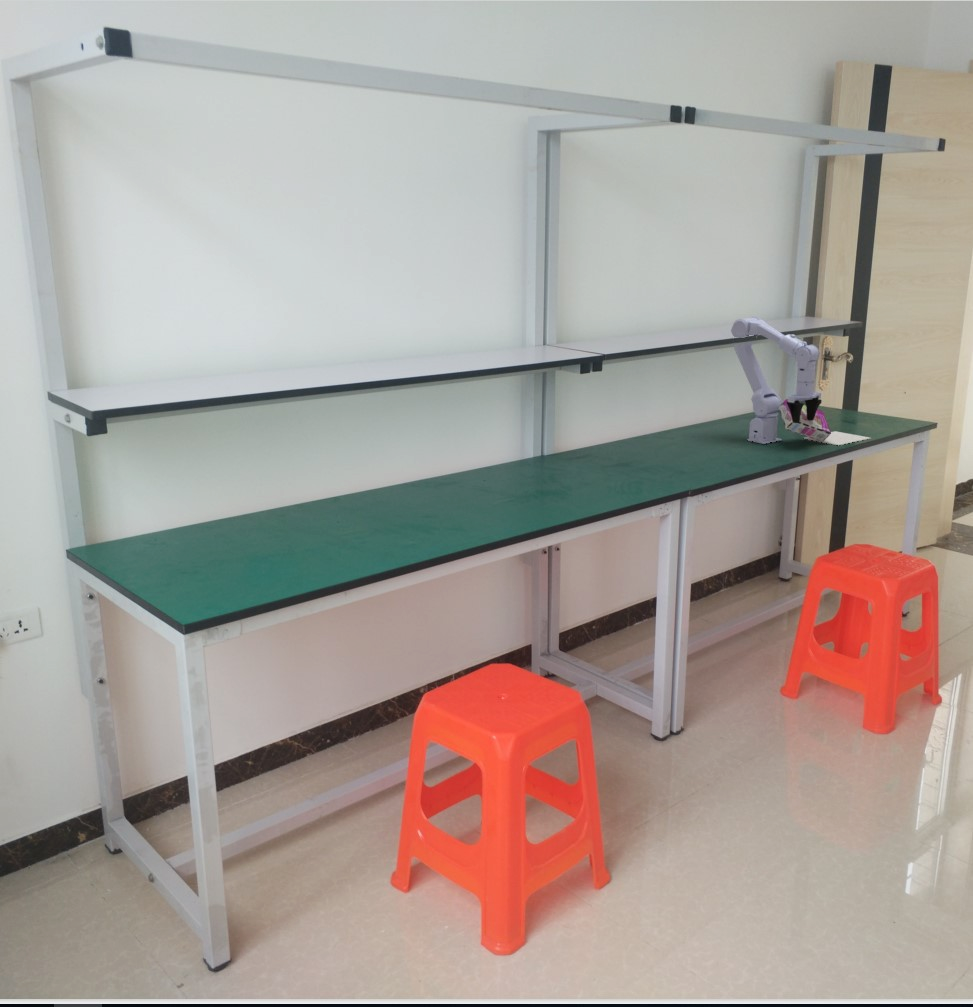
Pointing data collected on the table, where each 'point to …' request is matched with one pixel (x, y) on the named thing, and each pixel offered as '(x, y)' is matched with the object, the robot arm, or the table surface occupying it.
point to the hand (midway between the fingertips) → (803, 421)
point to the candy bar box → (806, 423)
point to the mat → (840, 438)
